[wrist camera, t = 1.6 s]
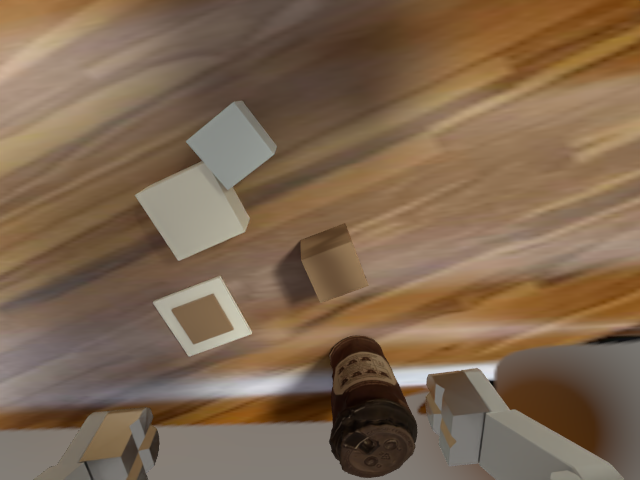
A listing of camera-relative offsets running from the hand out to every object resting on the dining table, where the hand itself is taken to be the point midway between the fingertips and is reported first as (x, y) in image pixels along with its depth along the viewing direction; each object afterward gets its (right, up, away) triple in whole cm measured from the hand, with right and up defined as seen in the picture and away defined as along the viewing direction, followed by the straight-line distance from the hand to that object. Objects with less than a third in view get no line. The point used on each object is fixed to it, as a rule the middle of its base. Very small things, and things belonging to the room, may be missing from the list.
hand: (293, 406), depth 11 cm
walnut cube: (+2, +4, +28) cm, 28 cm away
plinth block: (-11, +9, +25) cm, 29 cm away
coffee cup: (+5, -9, +34) cm, 35 cm away
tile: (-12, -4, +30) cm, 33 cm away
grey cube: (-7, +14, +23) cm, 28 cm away
